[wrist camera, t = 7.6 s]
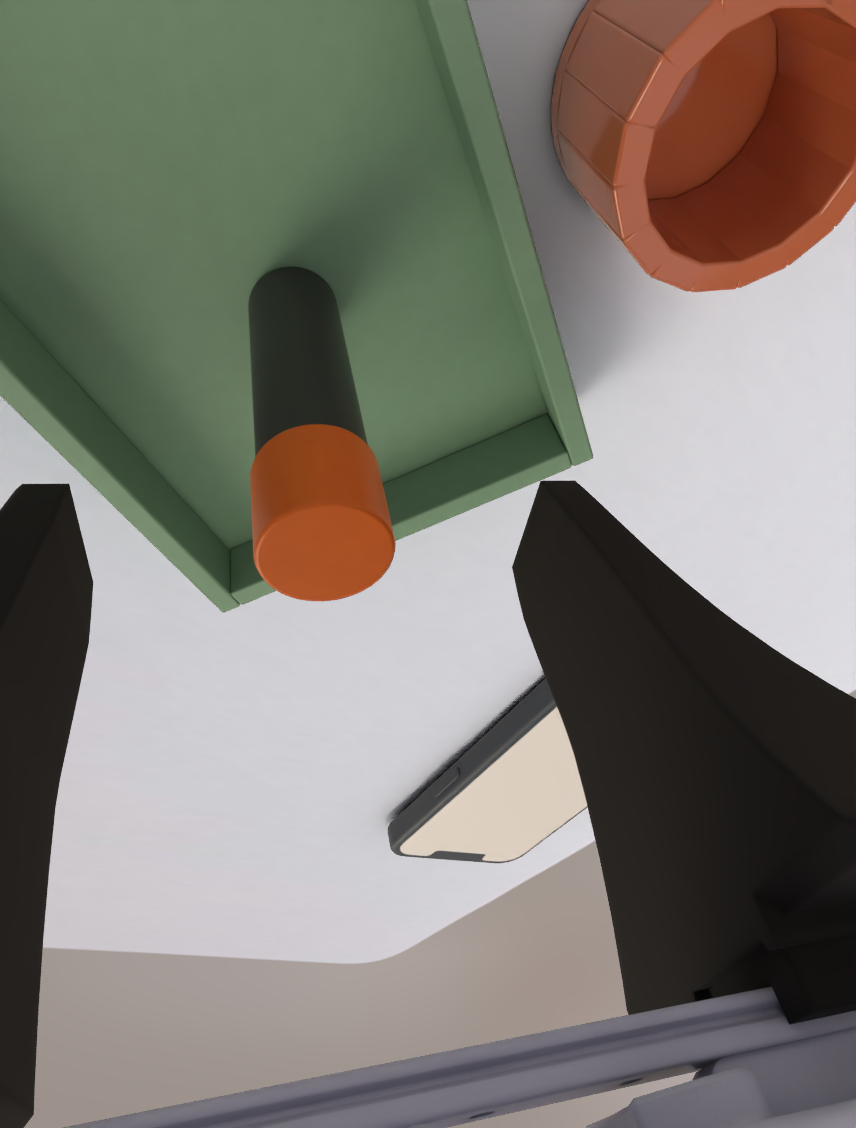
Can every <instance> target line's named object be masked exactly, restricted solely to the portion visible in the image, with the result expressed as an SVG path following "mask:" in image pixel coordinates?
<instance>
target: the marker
mask: <svg viewBox="0 0 856 1128" xmlns="http://www.w3.org/2000/svg"><path fill="white" fill-rule="evenodd" d="M248 315H249V336H250V356H251V377H252V398H253V419H254V440H255V459H254V462H253V464H252V468H251V474H250V484H251V510H252V536H253V557H254V563H255V566H256V568H257V570H258V572H259V574H260V575H261V577H262V578H263V579H264V580H265V582H266V583H268V584H269V585H270V586H271V587H272V588H274V589H275V590H277V591H278V592H280V593H282V594H284V595H287V596H289V597H293V598H296V599H301V600H307V601H331V600H337V599H342V598H345V597H349V596H352V595H354V594H357V593H359V592H361V591H363V590H365V589H367V588H368V587H370V586H371V585H373V584H374V583H375V582H377V581H378V580H379V579H380V578H381V577H382V576H383V575H384V573H385V572H386V571H387V569H388V568H389V566H390V564H391V562H392V560H393V557H394V553H395V537H394V532H393V528H392V523H391V519H390V515H389V510H388V506H387V501H386V497H385V493H384V488H383V484H382V479H381V475H380V471H379V466H378V462H377V459H376V457H375V455H374V453H373V451H372V450H371V448H370V447H369V446H368V443H367V438H366V434H365V429H364V425H363V420H362V415H361V411H360V406H359V402H358V397H357V393H356V388H355V383H354V379H353V374H352V370H351V365H350V361H349V356H348V351H347V347H346V342H345V338H344V333H343V328H342V324H341V319H340V315H339V310H338V306H337V301H336V298H335V295H334V292H333V290H332V289H331V287H330V286H329V284H328V283H327V282H326V281H325V280H324V279H323V278H322V277H320V276H319V275H318V274H316V273H314V272H313V271H310V270H308V269H305V268H301V267H282V268H278V269H275V270H273V271H270V272H269V273H267V274H265V275H264V276H263V277H261V278H260V279H259V281H258V282H257V283H256V284H255V286H254V287H253V289H252V291H251V294H250V297H249V302H248Z"/></svg>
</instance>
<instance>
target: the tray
mask: <svg viewBox="0 0 856 1128" xmlns="http://www.w3.org/2000/svg"><path fill="white" fill-rule="evenodd" d="M282 267H301V268H305V269H308V270H310V271H313V272H314V273H316V274H318V275H319V276H320V277H322V278H323V279H324V280H325V281H326V282H327V283H328V284H329V286H330V287H331V289H332V290H333V292H334V295H335V298H336V301H337V306H338V310H339V315H340V319H341V324H342V328H343V333H344V338H345V342H346V347H347V351H348V356H349V361H350V365H351V370H352V374H353V379H354V383H355V388H356V393H357V397H358V402H359V406H360V411H361V415H362V420H363V425H364V429H365V434H366V438H367V443H368V446H369V447H370V448H371V450H372V451H373V453H374V455H375V457H376V459H377V462H378V466H379V471H380V475H381V479H382V484H383V488H384V493H385V497H386V501H387V506H388V510H389V515H390V519H391V523H392V528H393V532H394V537H395V541H396V540H399V539H401V538H403V537H406V536H408V535H411V534H413V533H415V532H418V531H420V530H423V529H425V528H427V527H430V526H432V525H434V524H437V523H439V522H442V521H444V520H446V519H449V518H451V517H454V516H456V515H458V514H461V513H463V512H466V511H468V510H470V509H473V508H475V507H478V506H480V505H482V504H485V503H487V502H490V501H492V500H494V499H497V498H499V497H502V496H504V495H506V494H509V493H511V492H513V491H516V490H518V489H521V488H523V487H525V486H528V485H530V484H533V483H535V482H537V481H540V480H542V479H545V478H547V477H549V476H552V475H554V474H557V473H559V472H561V471H564V470H566V469H569V468H570V467H571V465H573V466H576V465H578V464H581V463H583V462H585V461H588V460H590V459H592V458H593V453H592V450H591V446H590V443H589V439H588V435H587V432H586V428H585V425H584V421H583V417H582V414H581V410H580V407H579V403H578V399H577V396H576V392H575V389H574V385H573V381H572V378H571V374H570V371H569V367H568V363H567V360H566V356H565V353H564V349H563V345H562V342H561V338H560V335H559V331H558V327H557V324H556V320H555V317H554V313H553V309H552V306H551V302H550V299H549V295H548V291H547V288H546V284H545V281H544V277H543V273H542V270H541V266H540V263H539V259H538V255H537V252H536V248H535V245H534V241H533V237H532V234H531V230H530V227H529V223H528V219H527V216H526V212H525V209H524V205H523V201H522V198H521V194H520V191H519V187H518V183H517V180H516V176H515V173H514V169H513V165H512V162H511V158H510V155H509V151H508V147H507V144H506V140H505V137H504V133H503V129H502V126H501V122H500V119H499V115H498V111H497V108H496V104H495V101H494V97H493V93H492V90H491V86H490V82H489V79H488V75H487V72H486V68H485V64H484V61H483V57H482V54H481V50H480V46H479V43H478V39H477V36H476V32H475V28H474V25H473V21H472V18H471V14H470V10H469V7H468V3H467V0H0V396H1V397H2V398H3V399H4V400H5V401H7V402H8V403H9V404H10V405H11V406H12V407H13V408H14V409H15V410H16V411H17V412H18V413H19V414H20V415H21V416H22V417H23V418H24V419H25V420H26V421H27V422H28V423H29V424H30V425H31V426H32V427H33V428H34V429H35V430H36V431H37V432H38V433H39V434H40V435H41V436H42V437H43V438H44V439H45V440H46V441H48V442H49V443H50V444H51V445H52V446H53V447H54V448H55V449H56V450H57V451H58V452H59V453H60V454H61V455H62V456H63V457H64V458H65V459H66V460H67V461H68V462H69V463H70V464H71V465H72V466H73V467H74V468H75V469H76V470H77V471H78V472H79V473H80V474H81V475H82V476H83V477H84V478H85V479H86V480H87V481H89V482H90V483H91V484H92V485H93V486H94V487H95V488H96V489H97V490H98V491H99V492H100V493H101V494H102V495H103V496H104V497H105V498H106V499H107V500H108V501H109V502H110V503H111V504H112V505H113V506H114V507H115V508H116V509H117V510H118V511H119V512H120V513H121V514H122V515H123V516H124V517H125V518H126V519H127V520H128V521H130V522H131V523H132V524H133V525H134V526H135V527H136V528H137V529H138V530H139V531H140V532H141V533H142V534H143V535H144V536H145V537H146V538H147V539H148V540H149V541H150V542H151V543H152V544H153V545H154V546H155V547H156V548H157V549H158V550H159V551H160V552H161V553H162V554H163V555H164V556H165V557H166V558H167V559H168V560H169V561H171V562H172V563H173V564H174V565H175V566H176V567H177V568H178V569H179V570H180V571H181V572H182V573H183V574H184V575H185V576H186V577H187V578H188V579H189V580H190V581H191V582H192V583H193V584H194V585H195V586H196V587H197V588H198V589H199V590H200V591H201V592H202V593H203V594H204V595H205V596H206V597H207V598H208V599H209V600H210V601H212V602H213V603H214V604H215V605H216V606H217V607H218V608H219V609H220V610H221V611H222V612H226V611H229V610H231V609H233V608H236V607H238V606H239V605H240V604H245V603H248V602H250V601H253V600H255V599H257V598H260V597H262V596H264V595H267V594H269V593H272V592H274V591H276V590H275V589H274V588H272V587H271V586H270V585H269V584H268V583H266V582H265V580H264V579H263V578H262V577H261V575H260V574H259V572H258V570H257V568H256V566H255V563H254V557H253V536H252V510H251V484H250V474H251V468H252V464H253V462H254V459H255V440H254V419H253V398H252V377H251V356H250V336H249V315H248V302H249V297H250V294H251V291H252V289H253V287H254V286H255V284H256V283H257V282H258V281H259V279H260V278H261V277H263V276H264V275H265V274H267V273H269V272H270V271H273V270H275V269H278V268H282Z"/></svg>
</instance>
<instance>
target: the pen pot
mask: <svg viewBox="0 0 856 1128" xmlns="http://www.w3.org/2000/svg"><path fill="white" fill-rule="evenodd" d="M551 120H552V134H553V140H554V146H555V150H556V153H557V156H558V160H559V163H560V165H561V167H562V169H563V171H564V173H565V176H566V177H567V179H568V180H569V182H570V183H571V185H572V186H573V188H574V189H575V190H576V191H577V192H578V193H579V194H580V196H581V197H582V198H583V199H584V201H585V202H586V203H587V205H588V206H589V207H590V208H591V210H592V211H593V212H594V213H595V214H596V216H597V217H598V218H599V219H600V220H601V221H602V223H603V224H604V225H605V226H606V227H607V228H608V230H609V231H610V232H611V233H612V234H613V235H614V236H615V238H616V239H617V240H618V241H619V242H620V243H621V245H622V246H623V247H624V248H625V249H626V250H627V252H628V253H629V254H630V255H631V256H632V257H633V259H634V260H635V261H636V262H637V263H638V264H639V266H640V267H641V268H642V269H643V270H644V271H645V272H646V274H649V275H650V276H651V277H652V278H654V279H657V280H659V281H662V282H664V283H667V284H669V285H672V286H674V287H677V288H679V289H682V290H684V291H691V292H702V291H716V290H730V289H736V288H737V287H738V288H740V287H743V286H745V285H748V284H750V283H752V282H754V281H757V280H759V279H761V278H764V277H766V276H768V275H770V274H773V273H775V272H777V271H779V270H782V269H784V268H785V267H786V266H787V265H790V264H792V263H793V262H794V261H796V260H797V259H798V258H799V257H800V256H802V255H803V254H804V253H805V252H807V251H808V250H809V249H810V248H812V247H813V246H814V245H815V244H817V243H818V242H819V241H820V240H821V239H823V238H824V237H825V236H826V235H828V234H829V233H830V232H831V231H832V230H833V229H834V226H837V225H838V224H839V223H840V222H841V220H842V219H843V218H844V216H845V215H846V214H847V212H848V211H849V210H850V209H851V207H852V206H853V205H854V203H855V202H856V0H589V2H588V3H587V5H586V6H585V8H584V9H583V11H582V12H581V14H580V16H579V17H578V19H577V21H576V23H575V25H574V27H573V29H572V31H571V33H570V35H569V37H568V40H567V42H566V45H565V47H564V50H563V52H562V55H561V59H560V62H559V66H558V69H557V73H556V77H555V83H554V88H553V94H552V108H551Z"/></svg>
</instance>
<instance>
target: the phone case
mask: <svg viewBox="0 0 856 1128" xmlns="http://www.w3.org/2000/svg"><path fill="white" fill-rule="evenodd" d="M587 807H588V806H587V802H586V798H585V794H584V791H583V787H582V783H581V779H580V775H579V772H578V768H577V764H576V760H575V756H574V753H573V750H572V747H571V744H570V741H569V738H568V735H567V732H566V729H565V726H564V724H563V721H562V719H561V716H560V713H559V711H558V708H557V706H556V703H555V700H554V698H553V695H552V692H551V690H550V687H549V685H548V682H547V679H546V678H545V679H544V680H543V681H542V682H541V683H540V684H539V685H538V686H537V687H535V688H534V689H533V690H532V691H531V692H530V693H529V694H528V695H527V696H526V697H525V698H524V699H523V700H522V701H520V702H519V703H518V704H517V705H516V706H515V707H514V708H513V709H512V710H511V711H510V712H509V713H508V714H507V715H505V716H504V717H503V718H502V719H501V720H500V721H499V722H498V723H497V724H496V725H495V726H494V727H493V728H492V729H490V730H489V731H488V732H487V733H486V734H485V735H484V736H483V737H482V738H481V739H480V740H479V741H478V742H477V743H475V744H474V745H473V746H472V747H471V748H470V749H469V750H468V751H467V752H466V753H465V754H464V755H463V756H462V757H460V758H459V759H458V760H457V761H456V762H455V763H454V764H453V765H452V766H451V767H450V768H449V769H448V770H447V771H445V772H444V773H443V774H442V775H441V776H440V777H439V778H438V779H437V780H436V781H435V782H434V783H433V784H432V785H430V786H429V787H428V788H427V789H426V790H425V791H424V792H423V793H422V794H421V795H420V796H419V797H418V798H417V799H415V800H414V801H413V802H412V803H411V804H410V805H409V806H408V807H407V808H406V809H405V810H404V811H403V812H402V813H400V814H399V815H398V816H397V817H396V818H395V819H394V820H393V821H392V822H391V823H390V825H389V827H388V836H389V842H390V847H391V850H392V851H393V852H394V853H395V854H397V855H400V856H407V857H421V858H434V859H447V860H460V861H474V862H487V863H505V862H509V861H513V860H515V859H518V858H520V857H521V856H523V855H524V854H526V853H527V852H528V851H530V850H531V849H532V848H534V847H535V846H536V845H538V844H539V843H540V842H542V841H543V840H544V839H546V838H547V837H548V836H550V835H551V834H552V833H554V832H555V831H556V830H558V829H559V828H560V827H562V826H563V825H564V824H566V823H567V822H568V821H570V820H571V819H572V818H574V817H575V816H576V815H578V814H579V813H580V812H582V811H583V810H584V809H586V808H587Z"/></svg>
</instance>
